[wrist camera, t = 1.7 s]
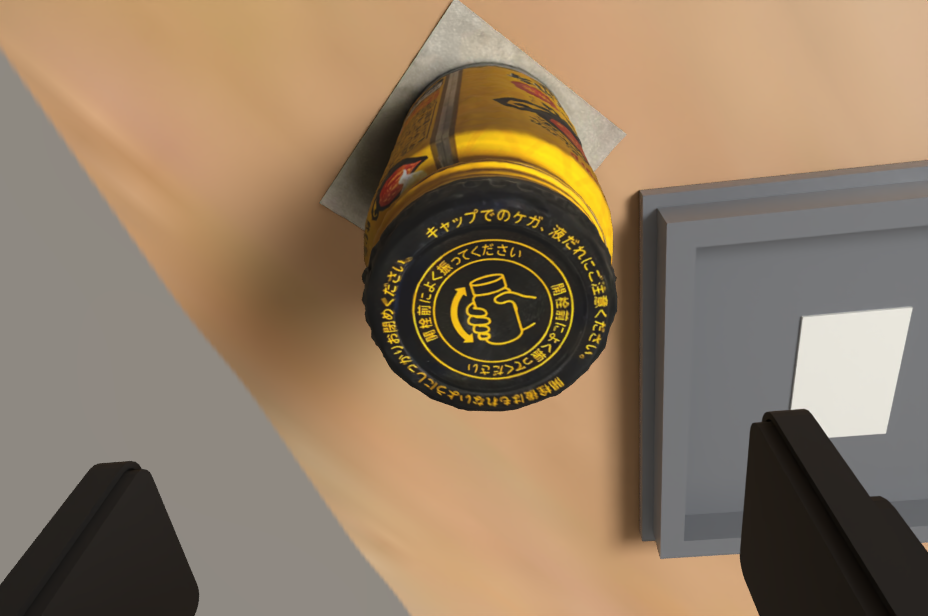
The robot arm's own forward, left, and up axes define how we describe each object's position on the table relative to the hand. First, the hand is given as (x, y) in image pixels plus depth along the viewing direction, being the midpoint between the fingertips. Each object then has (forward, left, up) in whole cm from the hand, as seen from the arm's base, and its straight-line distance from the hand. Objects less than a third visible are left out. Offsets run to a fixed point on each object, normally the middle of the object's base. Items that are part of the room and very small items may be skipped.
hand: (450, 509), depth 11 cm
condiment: (-1, 0, -16) cm, 16 cm away
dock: (+9, +14, -16) cm, 23 cm away
